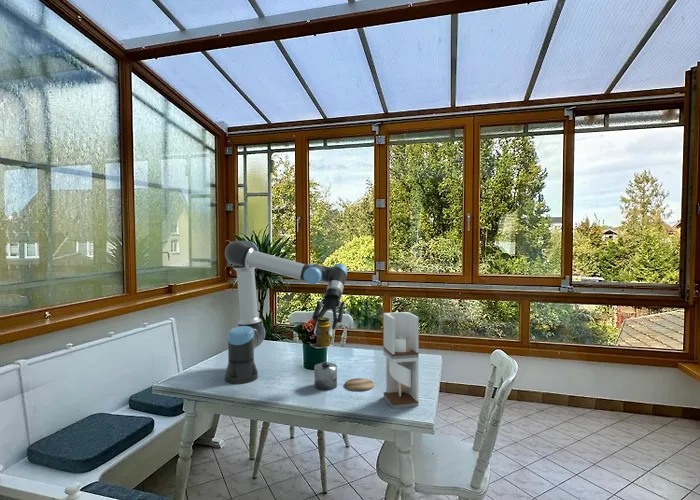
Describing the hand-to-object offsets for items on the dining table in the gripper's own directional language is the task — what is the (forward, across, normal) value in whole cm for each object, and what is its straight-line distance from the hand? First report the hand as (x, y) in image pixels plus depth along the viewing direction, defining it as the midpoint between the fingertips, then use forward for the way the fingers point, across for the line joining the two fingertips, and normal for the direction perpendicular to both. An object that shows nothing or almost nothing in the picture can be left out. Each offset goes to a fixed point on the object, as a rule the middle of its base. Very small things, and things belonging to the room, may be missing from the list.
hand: (322, 334), depth 177 cm
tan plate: (+12, -14, -22) cm, 29 cm away
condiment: (+3, +1, -4) cm, 5 cm away
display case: (+20, -35, -14) cm, 43 cm away
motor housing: (+15, 0, -19) cm, 24 cm away
